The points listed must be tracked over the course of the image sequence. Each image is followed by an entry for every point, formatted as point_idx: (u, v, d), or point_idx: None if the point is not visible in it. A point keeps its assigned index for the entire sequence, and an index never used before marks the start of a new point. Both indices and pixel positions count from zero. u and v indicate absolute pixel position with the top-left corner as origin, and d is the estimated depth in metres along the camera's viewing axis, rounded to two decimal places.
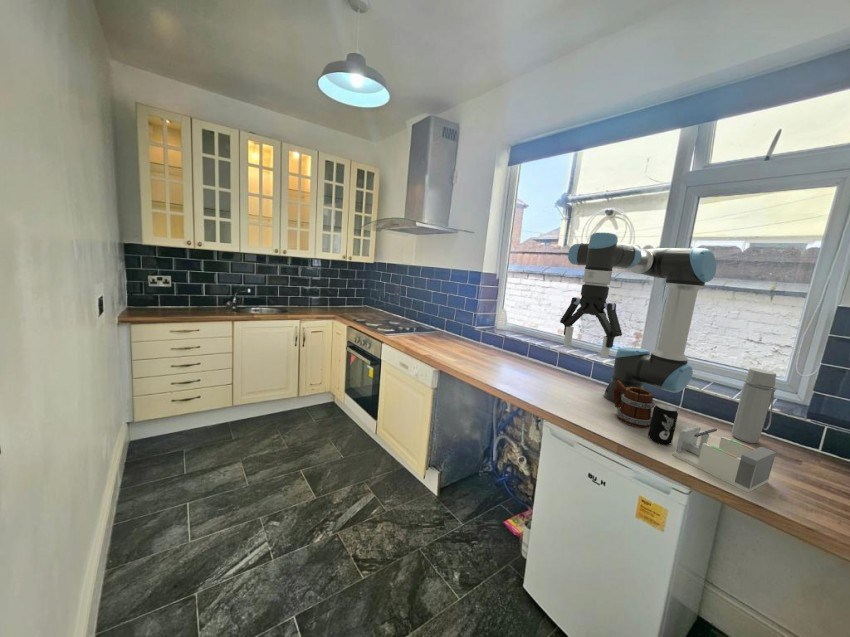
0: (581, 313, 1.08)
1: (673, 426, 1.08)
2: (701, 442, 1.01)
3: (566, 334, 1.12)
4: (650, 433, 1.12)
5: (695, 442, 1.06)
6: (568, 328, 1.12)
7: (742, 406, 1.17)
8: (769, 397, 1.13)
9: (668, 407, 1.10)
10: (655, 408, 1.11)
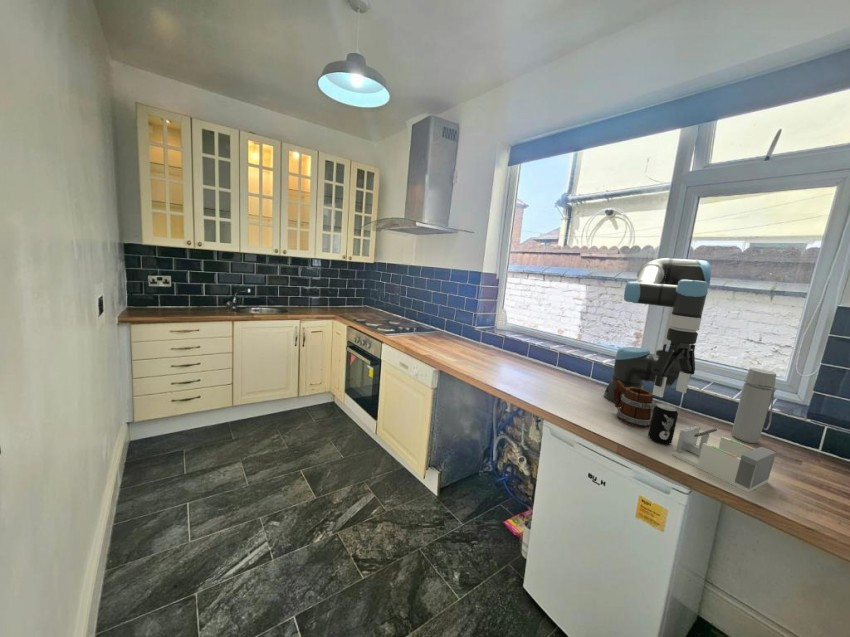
0: (681, 358, 1.09)
1: (673, 426, 1.08)
2: (701, 442, 1.01)
3: (678, 379, 1.13)
4: (650, 433, 1.12)
5: (695, 442, 1.06)
6: (680, 373, 1.12)
7: (742, 406, 1.17)
8: (769, 397, 1.13)
9: (668, 407, 1.10)
10: (655, 408, 1.11)
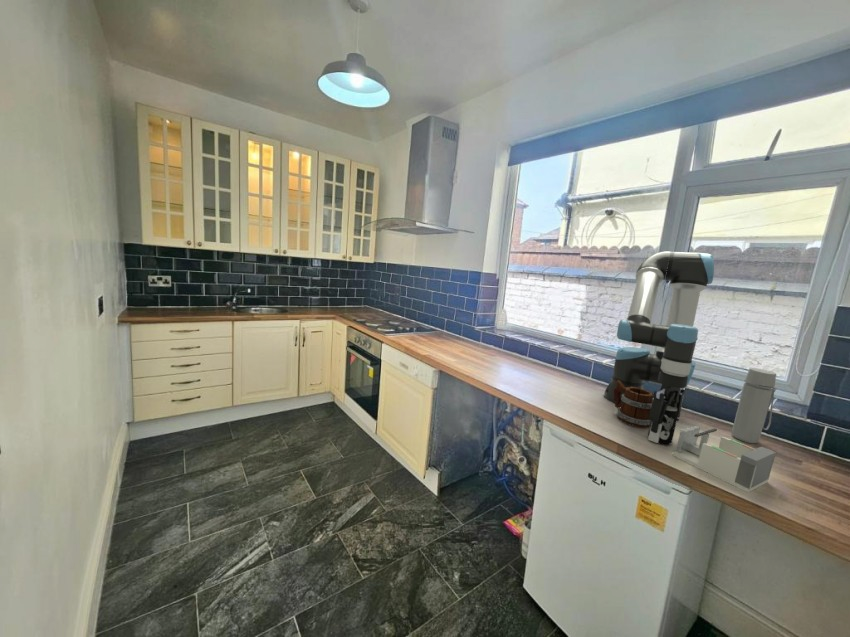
0: None
1: (673, 426, 1.08)
2: (701, 442, 1.01)
3: None
4: None
5: (695, 442, 1.06)
6: None
7: (742, 406, 1.17)
8: (769, 397, 1.13)
9: (668, 407, 1.10)
10: None
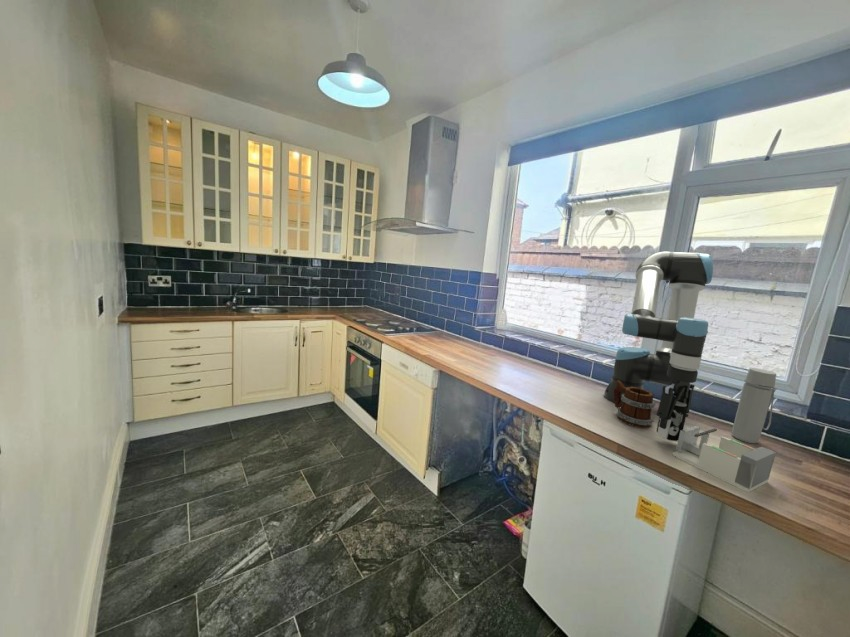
0: None
1: (682, 422, 1.06)
2: (701, 442, 1.01)
3: None
4: None
5: (695, 442, 1.06)
6: None
7: (742, 406, 1.17)
8: (769, 397, 1.13)
9: (677, 402, 1.08)
10: None
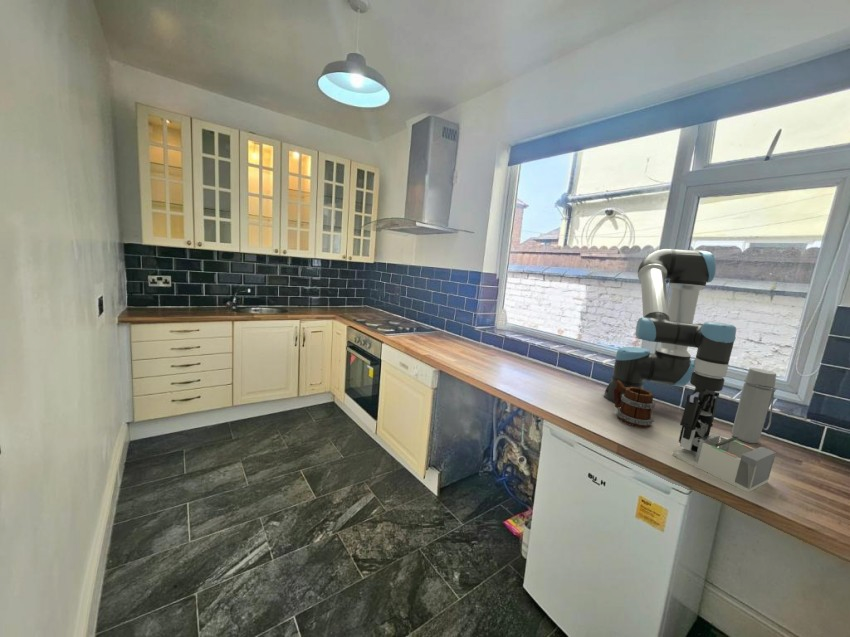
0: None
1: (707, 432, 1.00)
2: None
3: None
4: None
5: None
6: None
7: (742, 406, 1.17)
8: (769, 397, 1.13)
9: (701, 411, 1.02)
10: None
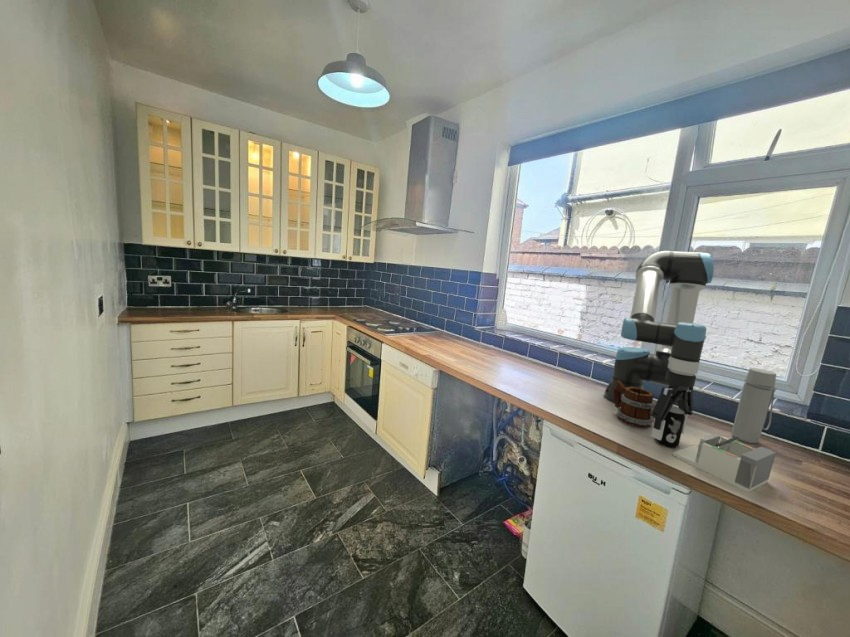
0: None
1: (680, 429, 1.06)
2: None
3: None
4: None
5: None
6: None
7: (742, 406, 1.17)
8: (769, 397, 1.13)
9: (675, 409, 1.09)
10: None
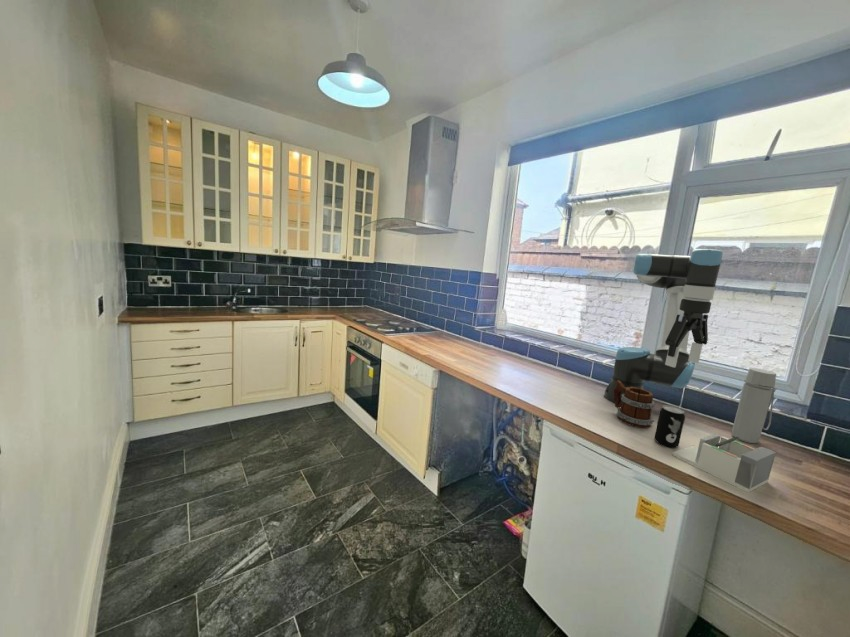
0: (694, 328, 1.09)
1: (680, 429, 1.06)
2: None
3: (691, 349, 1.13)
4: (656, 436, 1.10)
5: None
6: (693, 344, 1.13)
7: (742, 406, 1.17)
8: (769, 397, 1.13)
9: (675, 409, 1.09)
10: (661, 410, 1.09)
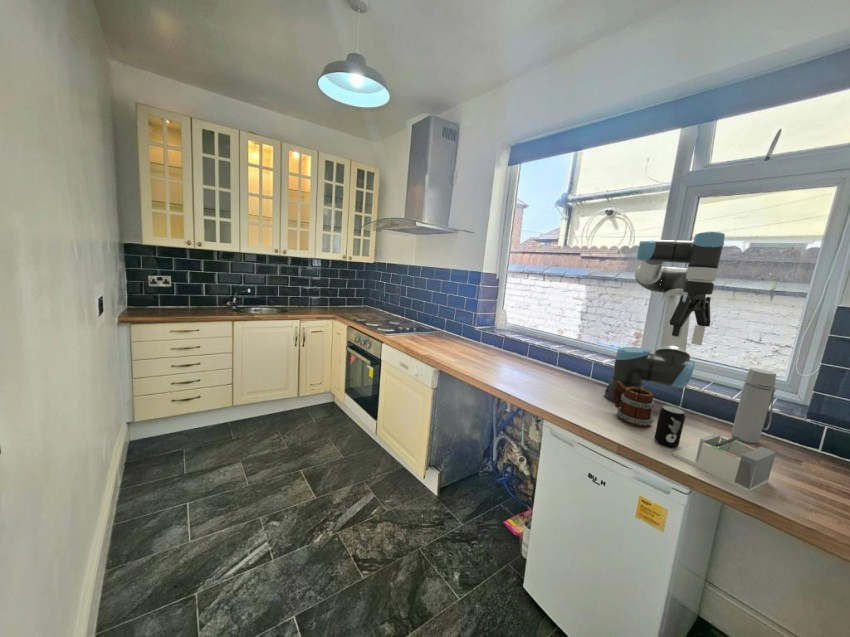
0: (697, 310, 1.12)
1: (680, 429, 1.06)
2: None
3: (694, 332, 1.16)
4: (656, 436, 1.10)
5: None
6: (696, 326, 1.15)
7: (742, 406, 1.17)
8: (769, 397, 1.13)
9: (675, 409, 1.09)
10: (661, 410, 1.09)
